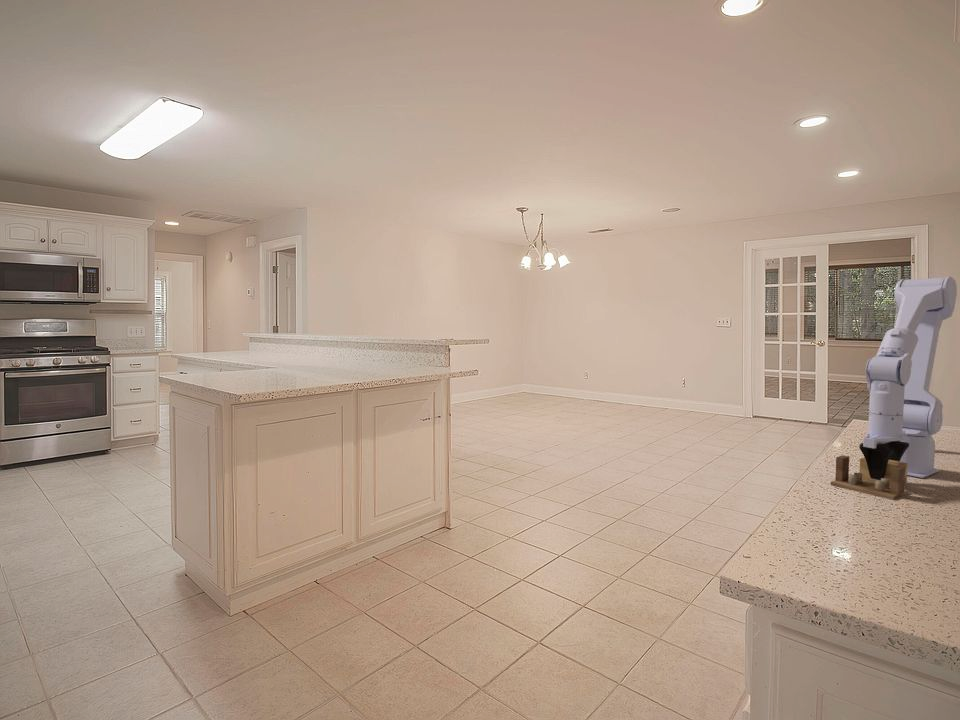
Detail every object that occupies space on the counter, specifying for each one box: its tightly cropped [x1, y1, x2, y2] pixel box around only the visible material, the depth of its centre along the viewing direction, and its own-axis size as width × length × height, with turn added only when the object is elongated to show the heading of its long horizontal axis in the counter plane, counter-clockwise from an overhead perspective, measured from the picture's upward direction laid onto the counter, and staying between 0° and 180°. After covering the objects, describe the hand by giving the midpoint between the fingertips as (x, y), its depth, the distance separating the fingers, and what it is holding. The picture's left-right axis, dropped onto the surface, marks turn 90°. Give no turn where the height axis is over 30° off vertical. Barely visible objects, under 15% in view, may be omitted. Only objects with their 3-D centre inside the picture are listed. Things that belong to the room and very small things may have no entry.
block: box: [859, 456, 908, 488], centre depth 111 cm, size 4×7×5 cm, turn 32°
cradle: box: [830, 454, 909, 501], centre depth 107 cm, size 7×11×6 cm, turn 32°
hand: (882, 476), depth 111 cm, fingers open, 5 cm apart
